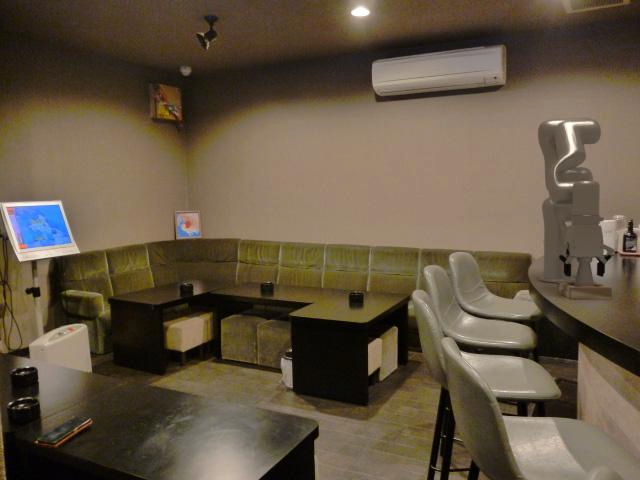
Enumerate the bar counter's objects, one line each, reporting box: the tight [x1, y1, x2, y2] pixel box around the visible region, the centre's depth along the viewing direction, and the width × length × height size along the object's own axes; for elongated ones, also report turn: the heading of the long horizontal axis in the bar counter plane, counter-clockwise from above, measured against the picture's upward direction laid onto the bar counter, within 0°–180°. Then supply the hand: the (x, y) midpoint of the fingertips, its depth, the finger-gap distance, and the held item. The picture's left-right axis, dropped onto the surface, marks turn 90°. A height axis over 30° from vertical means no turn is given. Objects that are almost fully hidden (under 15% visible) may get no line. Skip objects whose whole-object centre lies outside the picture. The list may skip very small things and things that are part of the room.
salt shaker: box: [574, 257, 595, 287], centre depth 158 cm, size 6×6×13 cm
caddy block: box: [557, 281, 613, 301], centre depth 158 cm, size 12×11×4 cm
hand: (583, 276), depth 158 cm, fingers open, 9 cm apart
